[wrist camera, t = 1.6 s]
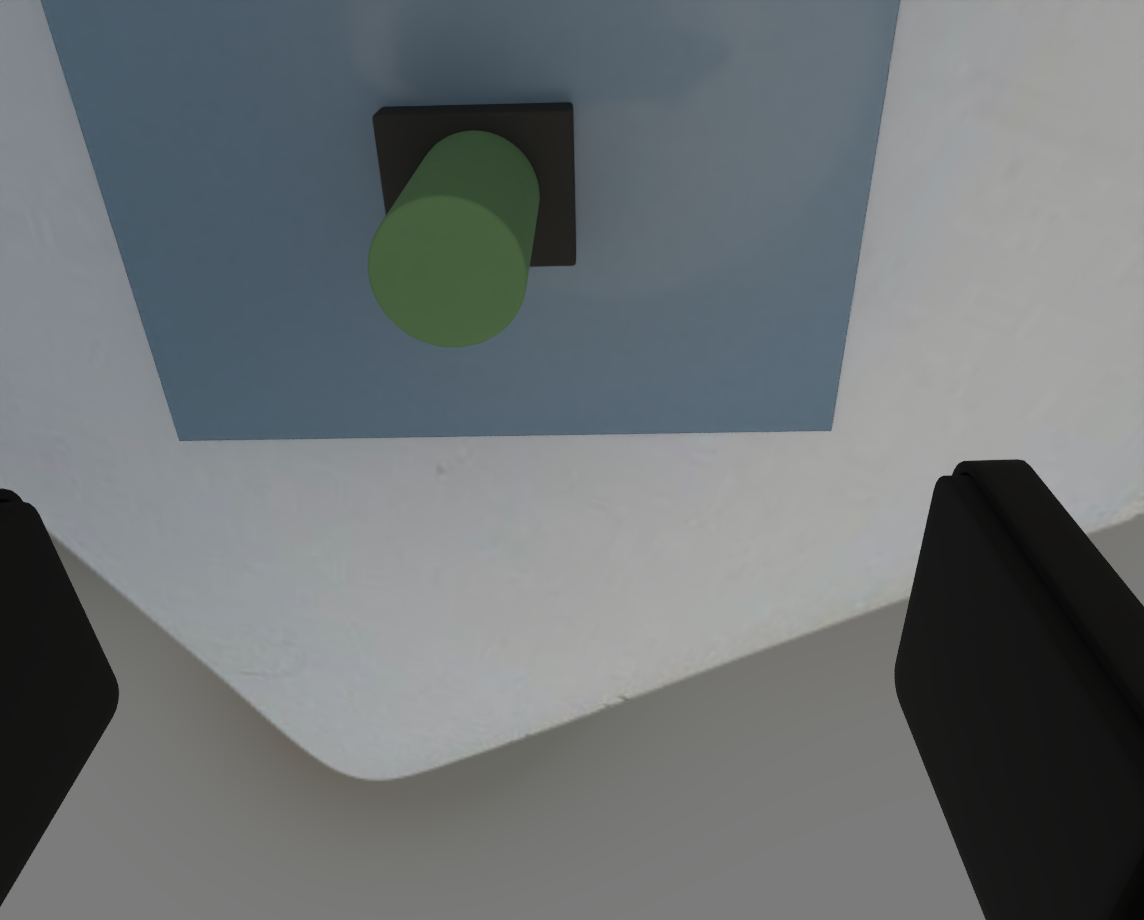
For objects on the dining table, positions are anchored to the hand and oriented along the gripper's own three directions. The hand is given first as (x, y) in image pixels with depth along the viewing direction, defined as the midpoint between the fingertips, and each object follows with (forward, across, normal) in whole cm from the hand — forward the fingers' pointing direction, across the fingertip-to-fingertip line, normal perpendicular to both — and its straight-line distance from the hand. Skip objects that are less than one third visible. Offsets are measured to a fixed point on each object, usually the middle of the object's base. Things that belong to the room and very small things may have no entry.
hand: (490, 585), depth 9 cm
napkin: (+17, +2, 0) cm, 17 cm away
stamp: (+17, +2, 0) cm, 17 cm away
